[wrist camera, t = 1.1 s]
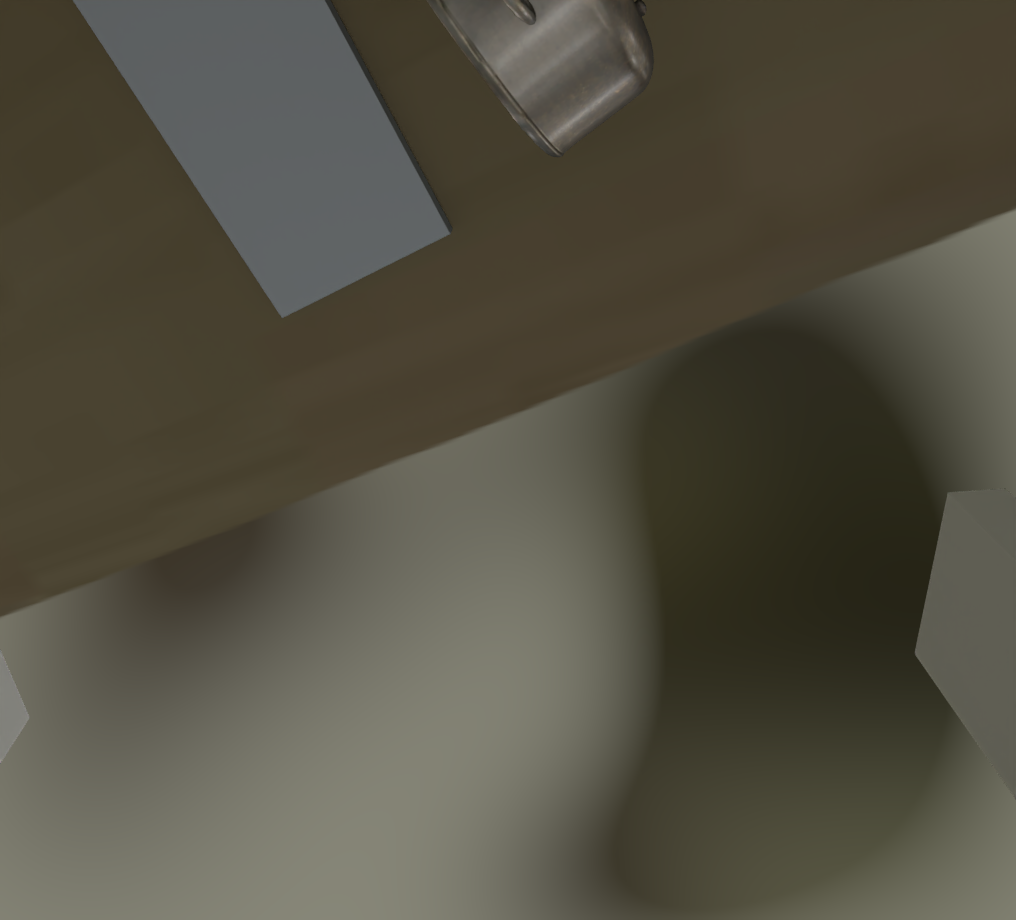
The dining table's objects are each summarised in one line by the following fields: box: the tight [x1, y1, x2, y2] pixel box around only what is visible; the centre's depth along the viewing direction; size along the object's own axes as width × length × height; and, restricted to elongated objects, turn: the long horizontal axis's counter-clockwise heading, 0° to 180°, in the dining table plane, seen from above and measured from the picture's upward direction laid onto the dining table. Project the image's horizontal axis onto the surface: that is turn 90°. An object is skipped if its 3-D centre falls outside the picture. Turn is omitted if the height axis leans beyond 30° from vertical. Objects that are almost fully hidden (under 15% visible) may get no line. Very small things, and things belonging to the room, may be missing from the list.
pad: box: [73, 0, 452, 318], centre depth 35 cm, size 9×15×1 cm, turn 27°
